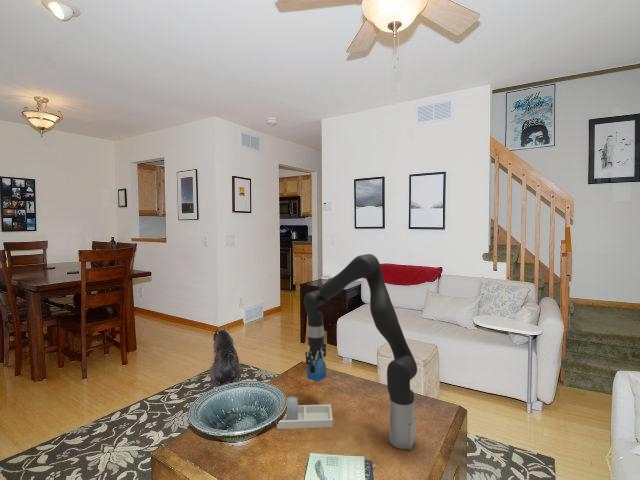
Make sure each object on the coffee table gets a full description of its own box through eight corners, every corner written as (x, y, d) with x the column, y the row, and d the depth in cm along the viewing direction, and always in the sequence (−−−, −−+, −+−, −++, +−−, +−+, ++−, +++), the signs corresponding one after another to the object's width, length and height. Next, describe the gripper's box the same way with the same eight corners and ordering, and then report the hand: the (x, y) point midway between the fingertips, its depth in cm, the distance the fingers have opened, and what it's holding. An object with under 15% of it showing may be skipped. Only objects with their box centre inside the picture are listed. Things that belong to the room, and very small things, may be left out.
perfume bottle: (317, 382, 154) (317, 355, 153) (307, 378, 157) (306, 352, 157) (326, 376, 158) (325, 351, 158) (315, 373, 162) (315, 348, 162)
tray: (330, 412, 153) (330, 404, 152) (332, 429, 141) (332, 420, 140) (279, 414, 152) (279, 405, 151) (276, 431, 140) (276, 422, 139)
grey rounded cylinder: (300, 418, 147) (299, 397, 146) (293, 424, 142) (293, 403, 142) (290, 415, 149) (290, 395, 149) (284, 421, 145) (283, 400, 144)
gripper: (313, 340, 149) (314, 377, 150) (330, 331, 161) (331, 366, 162) (299, 337, 153) (300, 374, 154) (317, 328, 165) (318, 362, 166)
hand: (316, 369), depth 158 cm, fingers closed on perfume bottle, 6 cm apart
